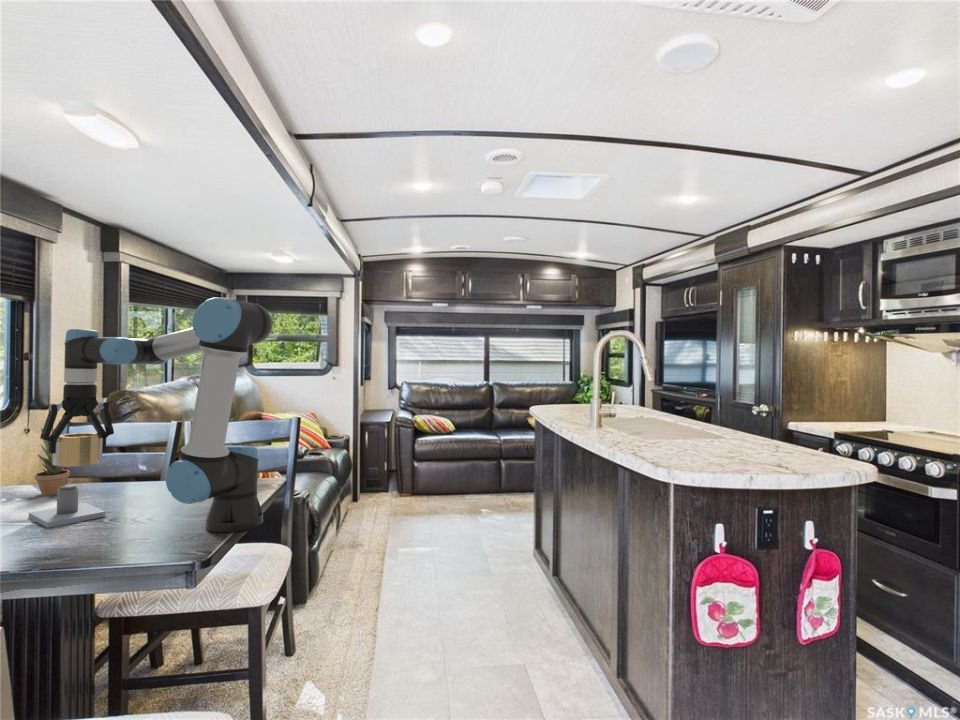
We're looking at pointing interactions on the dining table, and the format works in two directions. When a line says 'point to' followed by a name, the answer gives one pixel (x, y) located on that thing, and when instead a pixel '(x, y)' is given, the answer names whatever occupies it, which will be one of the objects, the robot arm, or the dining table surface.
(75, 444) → the bronze sleeve
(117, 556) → the dining table surface
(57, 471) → the potted plant
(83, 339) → the robot arm
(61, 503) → the block
